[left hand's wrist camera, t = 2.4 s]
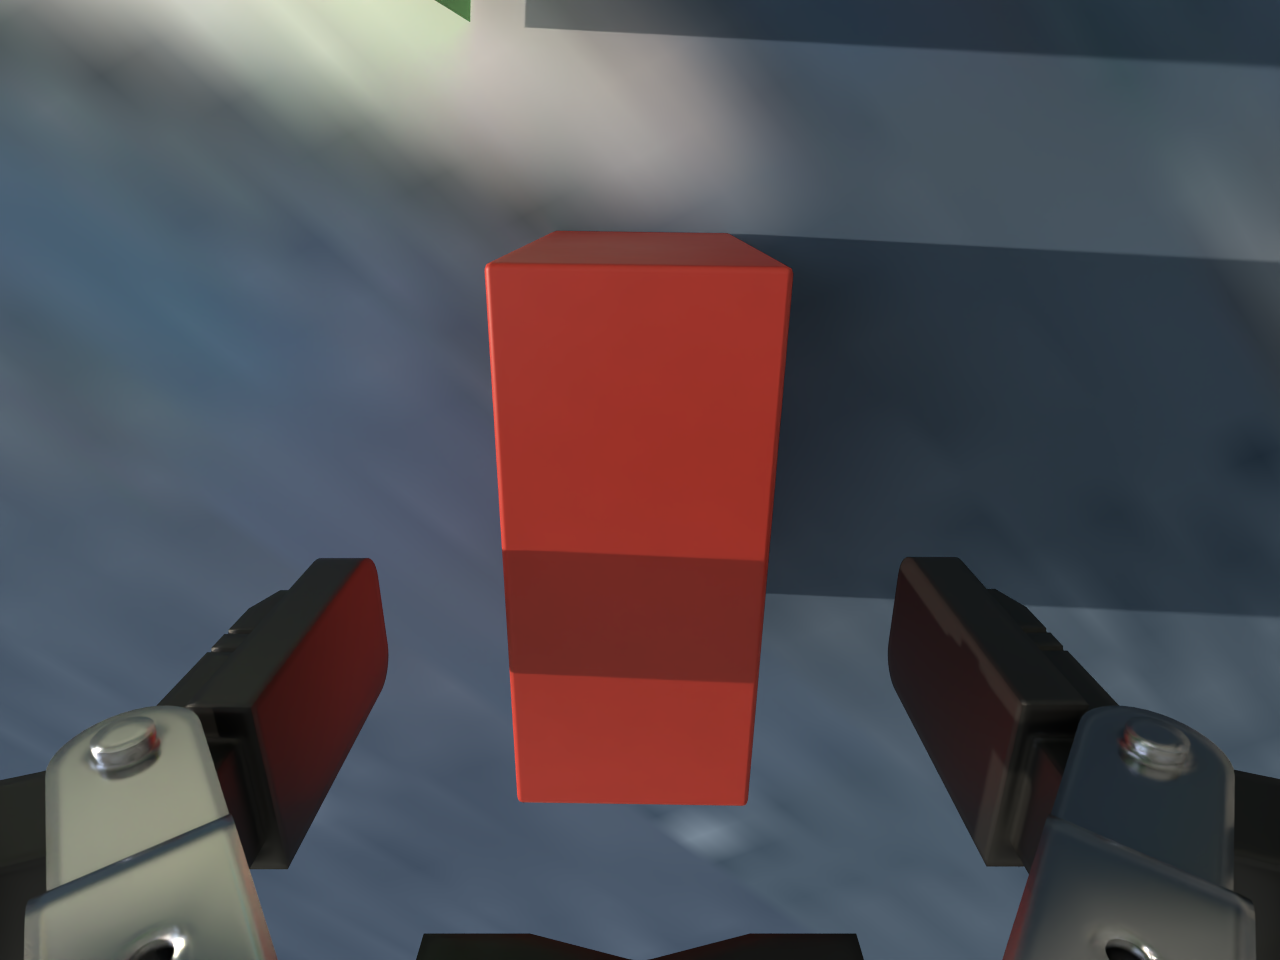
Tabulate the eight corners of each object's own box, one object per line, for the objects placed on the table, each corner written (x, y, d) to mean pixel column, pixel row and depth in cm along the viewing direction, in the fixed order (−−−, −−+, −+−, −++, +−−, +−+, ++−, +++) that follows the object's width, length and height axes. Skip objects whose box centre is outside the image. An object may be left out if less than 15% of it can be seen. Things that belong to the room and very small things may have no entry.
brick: (562, 585, 20) (516, 804, 13) (552, 230, 17) (482, 262, 10) (711, 586, 20) (748, 808, 13) (731, 232, 17) (795, 267, 10)
